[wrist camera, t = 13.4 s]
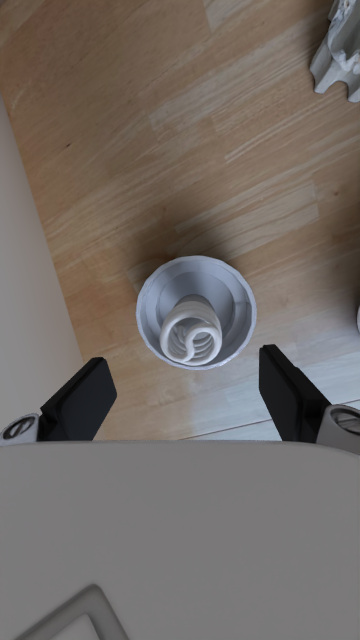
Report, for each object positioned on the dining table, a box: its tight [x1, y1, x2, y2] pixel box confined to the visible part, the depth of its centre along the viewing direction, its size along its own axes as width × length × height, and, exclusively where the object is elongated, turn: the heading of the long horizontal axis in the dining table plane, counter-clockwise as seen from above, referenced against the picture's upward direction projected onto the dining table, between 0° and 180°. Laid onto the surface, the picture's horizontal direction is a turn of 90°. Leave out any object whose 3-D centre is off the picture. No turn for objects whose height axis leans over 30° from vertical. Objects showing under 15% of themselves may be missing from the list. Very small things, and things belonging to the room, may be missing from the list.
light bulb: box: [160, 294, 222, 366], centre depth 19 cm, size 6×6×12 cm
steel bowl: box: [136, 255, 257, 370], centre depth 23 cm, size 14×14×6 cm
